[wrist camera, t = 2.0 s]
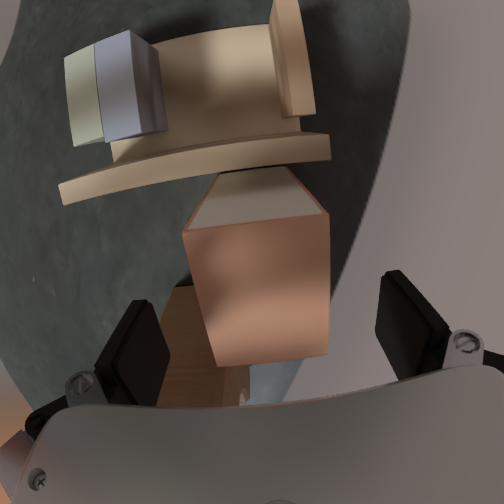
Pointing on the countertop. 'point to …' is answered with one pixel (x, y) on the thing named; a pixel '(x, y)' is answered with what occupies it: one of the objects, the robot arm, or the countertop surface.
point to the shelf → (193, 103)
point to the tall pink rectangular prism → (261, 267)
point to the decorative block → (196, 359)
